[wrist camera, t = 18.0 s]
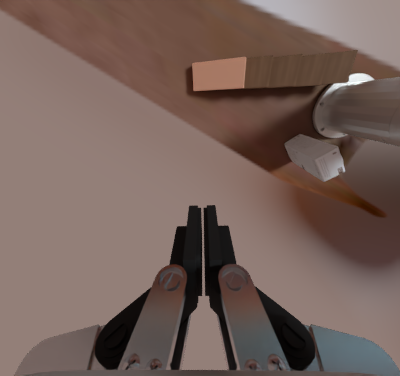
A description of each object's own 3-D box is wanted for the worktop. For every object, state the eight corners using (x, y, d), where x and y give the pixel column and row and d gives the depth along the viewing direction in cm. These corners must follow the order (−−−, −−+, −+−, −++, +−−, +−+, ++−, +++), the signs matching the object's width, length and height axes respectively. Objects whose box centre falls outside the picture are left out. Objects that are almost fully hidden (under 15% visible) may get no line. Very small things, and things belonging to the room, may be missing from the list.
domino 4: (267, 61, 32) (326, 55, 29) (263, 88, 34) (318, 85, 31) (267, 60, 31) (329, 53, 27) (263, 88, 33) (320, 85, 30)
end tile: (193, 90, 33) (242, 87, 30) (192, 63, 31) (245, 56, 28) (196, 91, 34) (243, 88, 31) (195, 64, 32) (246, 58, 29)
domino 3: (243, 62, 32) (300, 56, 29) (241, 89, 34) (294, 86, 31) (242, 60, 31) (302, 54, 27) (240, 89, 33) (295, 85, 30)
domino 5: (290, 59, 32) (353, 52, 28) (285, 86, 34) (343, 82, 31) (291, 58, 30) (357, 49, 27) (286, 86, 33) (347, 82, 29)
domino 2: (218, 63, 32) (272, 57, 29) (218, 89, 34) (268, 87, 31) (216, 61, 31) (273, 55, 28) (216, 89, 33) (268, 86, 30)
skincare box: (282, 143, 40) (312, 159, 29) (300, 132, 38) (338, 144, 28) (292, 162, 42) (322, 183, 31) (309, 152, 41) (347, 171, 30)
